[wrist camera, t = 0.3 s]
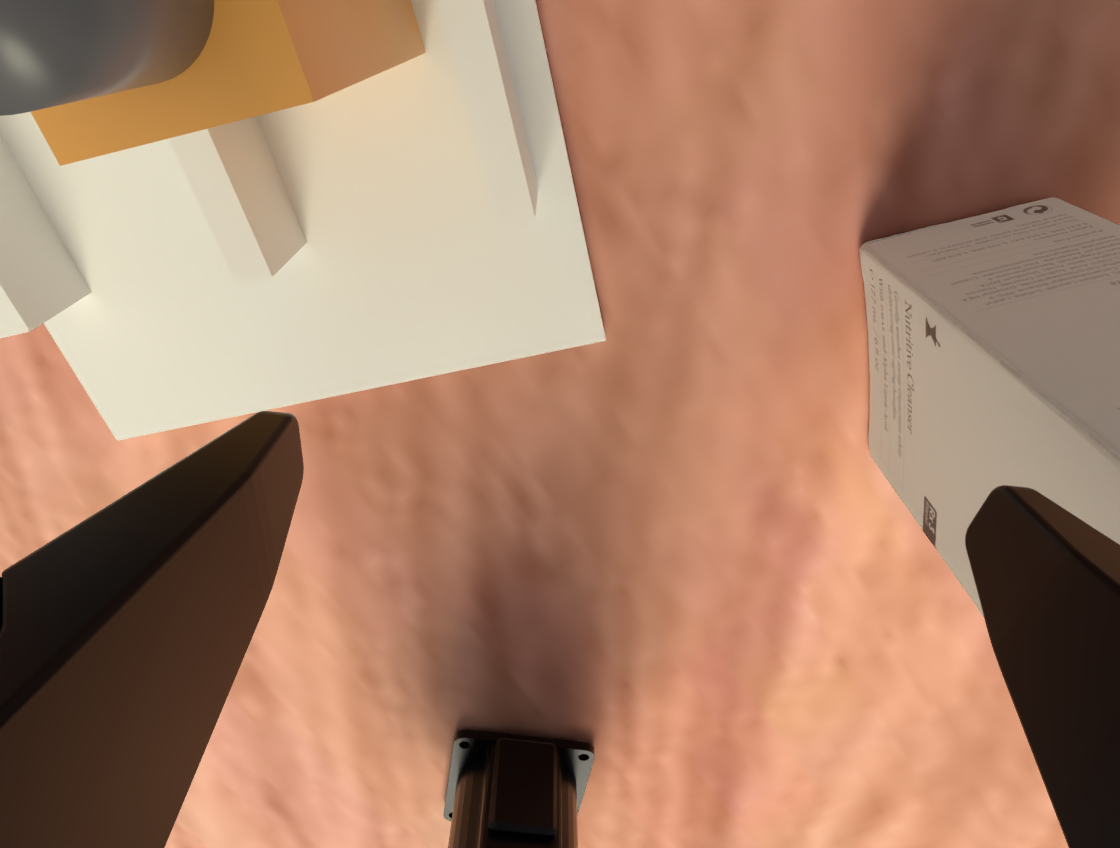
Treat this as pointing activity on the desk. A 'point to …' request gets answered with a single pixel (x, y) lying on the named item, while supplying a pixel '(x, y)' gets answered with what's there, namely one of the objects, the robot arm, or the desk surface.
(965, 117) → the desk surface
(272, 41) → the orange plug
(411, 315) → the white ribbed tray
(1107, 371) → the skincare box
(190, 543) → the robot arm
